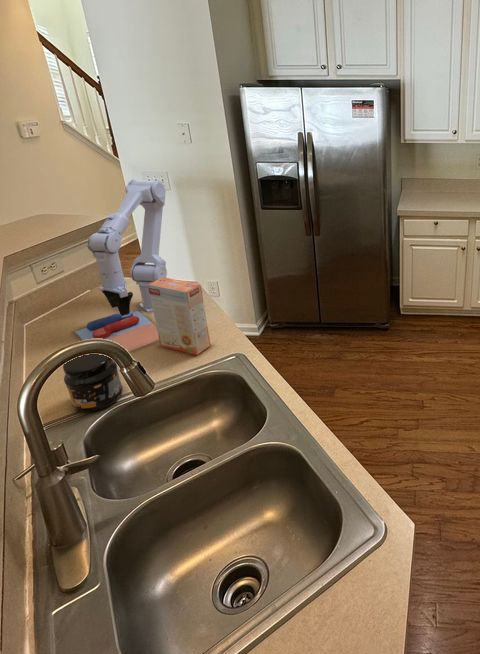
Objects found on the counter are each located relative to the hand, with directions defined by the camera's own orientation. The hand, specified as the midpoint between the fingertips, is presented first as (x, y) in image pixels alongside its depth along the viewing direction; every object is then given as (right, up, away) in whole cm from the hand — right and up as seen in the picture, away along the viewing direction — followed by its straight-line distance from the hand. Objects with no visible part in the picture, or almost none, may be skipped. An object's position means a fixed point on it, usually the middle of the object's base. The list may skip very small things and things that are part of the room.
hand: (120, 310), depth 135 cm
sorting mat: (+1, -8, -1) cm, 8 cm away
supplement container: (+13, -19, -28) cm, 36 cm away
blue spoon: (-6, -5, +4) cm, 9 cm away
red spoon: (-1, -6, +1) cm, 7 cm away
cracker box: (+23, -10, -6) cm, 26 cm away
